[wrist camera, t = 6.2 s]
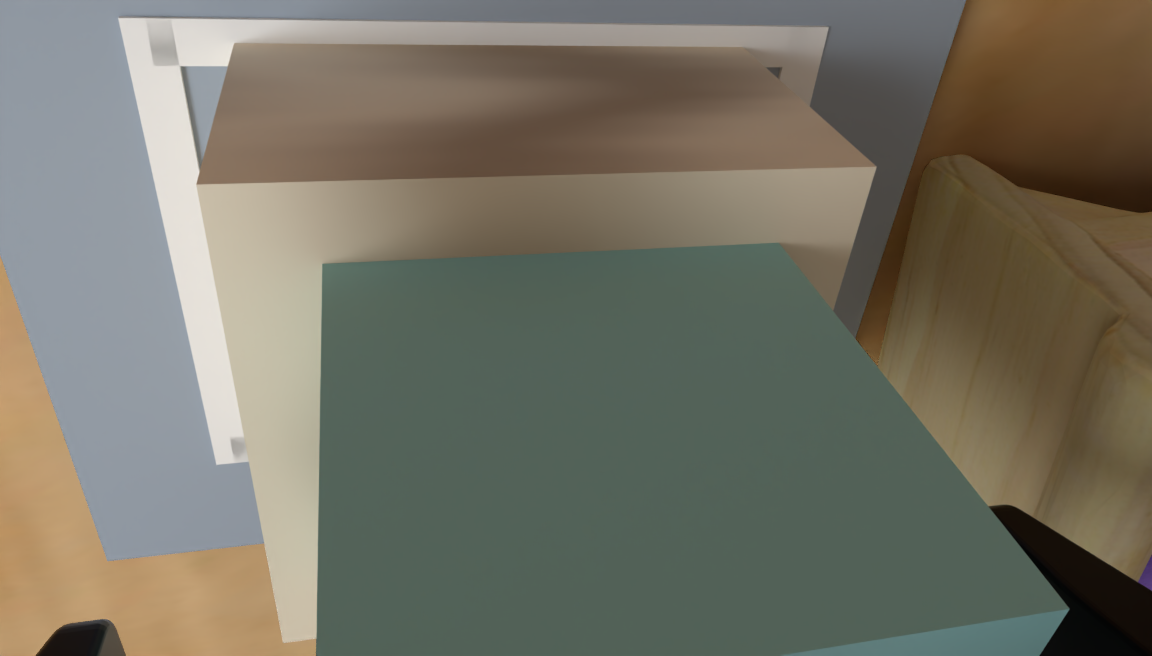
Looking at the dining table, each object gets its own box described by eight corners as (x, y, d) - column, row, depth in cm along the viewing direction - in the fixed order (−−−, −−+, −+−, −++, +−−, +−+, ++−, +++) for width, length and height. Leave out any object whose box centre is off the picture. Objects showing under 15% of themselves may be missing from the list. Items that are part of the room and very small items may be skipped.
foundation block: (742, 46, 13) (877, 166, 10) (673, 410, 17) (752, 578, 14) (233, 42, 11) (196, 184, 8) (293, 444, 15) (283, 642, 12)
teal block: (779, 242, 10) (1069, 608, 6) (705, 538, 13) (870, 916, 9) (322, 264, 9) (315, 731, 5) (354, 582, 12) (367, 1035, 8)
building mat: (1047, -311, 11) (1071, -311, 11) (801, 468, 19) (810, 483, 19) (-230, -457, 8) (-256, -464, 8) (111, 544, 16) (106, 564, 16)
